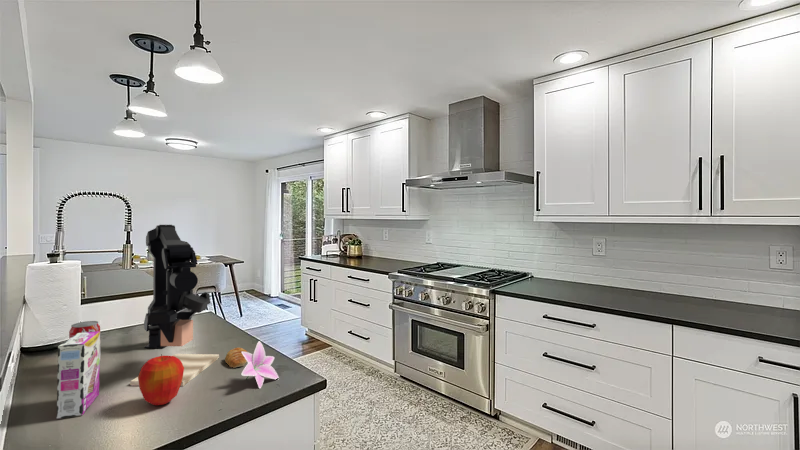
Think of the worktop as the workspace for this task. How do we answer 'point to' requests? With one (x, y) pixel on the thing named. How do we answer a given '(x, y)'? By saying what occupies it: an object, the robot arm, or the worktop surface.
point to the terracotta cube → (180, 334)
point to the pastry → (235, 358)
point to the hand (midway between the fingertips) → (177, 338)
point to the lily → (259, 365)
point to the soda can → (84, 328)
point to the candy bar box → (78, 374)
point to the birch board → (190, 366)
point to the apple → (160, 379)
